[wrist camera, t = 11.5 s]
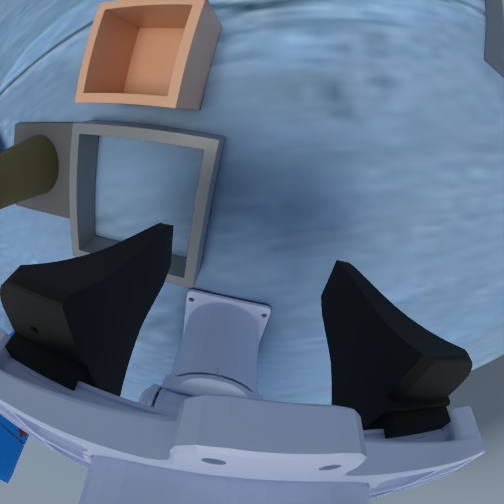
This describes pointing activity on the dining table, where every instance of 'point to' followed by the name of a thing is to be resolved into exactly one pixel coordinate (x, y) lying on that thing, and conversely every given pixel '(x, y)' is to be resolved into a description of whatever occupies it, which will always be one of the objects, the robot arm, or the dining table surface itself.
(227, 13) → the dining table surface
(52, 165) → the cork
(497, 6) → the dark grey tray
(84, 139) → the grey rectangular frame
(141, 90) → the terracotta pot
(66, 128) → the dark grey rubber mat
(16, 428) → the thermos
